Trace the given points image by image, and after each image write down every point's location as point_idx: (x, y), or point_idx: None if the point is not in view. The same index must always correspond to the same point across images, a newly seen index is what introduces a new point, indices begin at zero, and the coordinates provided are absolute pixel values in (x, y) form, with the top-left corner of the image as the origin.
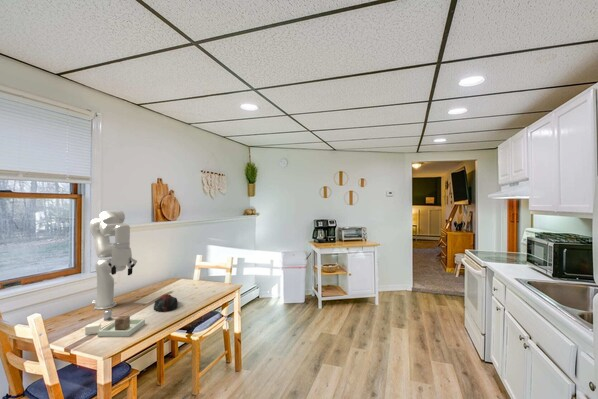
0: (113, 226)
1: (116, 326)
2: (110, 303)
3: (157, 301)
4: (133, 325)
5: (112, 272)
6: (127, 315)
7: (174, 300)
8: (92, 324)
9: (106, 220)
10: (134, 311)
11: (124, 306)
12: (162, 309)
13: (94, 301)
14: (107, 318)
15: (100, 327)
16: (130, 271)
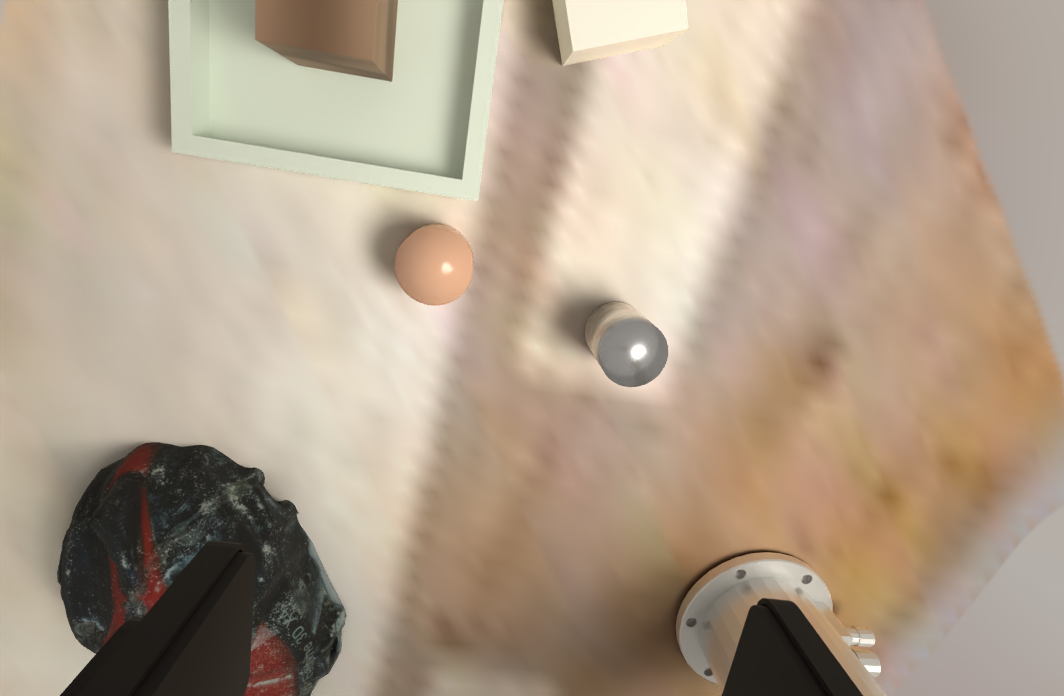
0: None
1: None
2: (717, 620)
3: None
4: (277, 97)
5: (801, 657)
6: (415, 284)
7: (64, 587)
8: (639, 16)
9: None
10: (459, 488)
11: (599, 607)
12: (170, 460)
13: (860, 657)
14: (608, 308)
15: (564, 48)
16: (93, 673)
